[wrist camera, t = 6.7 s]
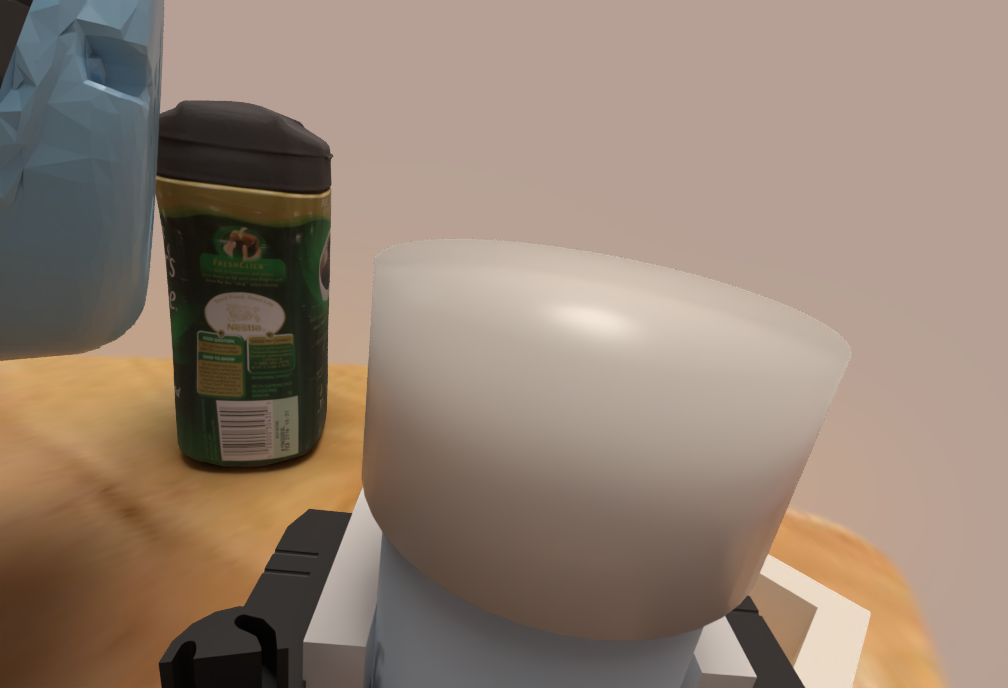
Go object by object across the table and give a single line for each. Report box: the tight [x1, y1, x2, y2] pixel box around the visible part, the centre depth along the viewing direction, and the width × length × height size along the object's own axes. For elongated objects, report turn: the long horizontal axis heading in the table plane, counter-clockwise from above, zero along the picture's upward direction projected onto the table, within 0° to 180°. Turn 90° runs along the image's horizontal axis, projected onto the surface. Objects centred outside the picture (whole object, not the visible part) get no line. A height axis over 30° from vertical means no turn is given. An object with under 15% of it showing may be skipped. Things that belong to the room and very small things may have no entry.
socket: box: [747, 554, 871, 688], centre depth 18 cm, size 10×10×4 cm
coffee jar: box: [155, 101, 333, 467], centre depth 28 cm, size 10×8×19 cm
